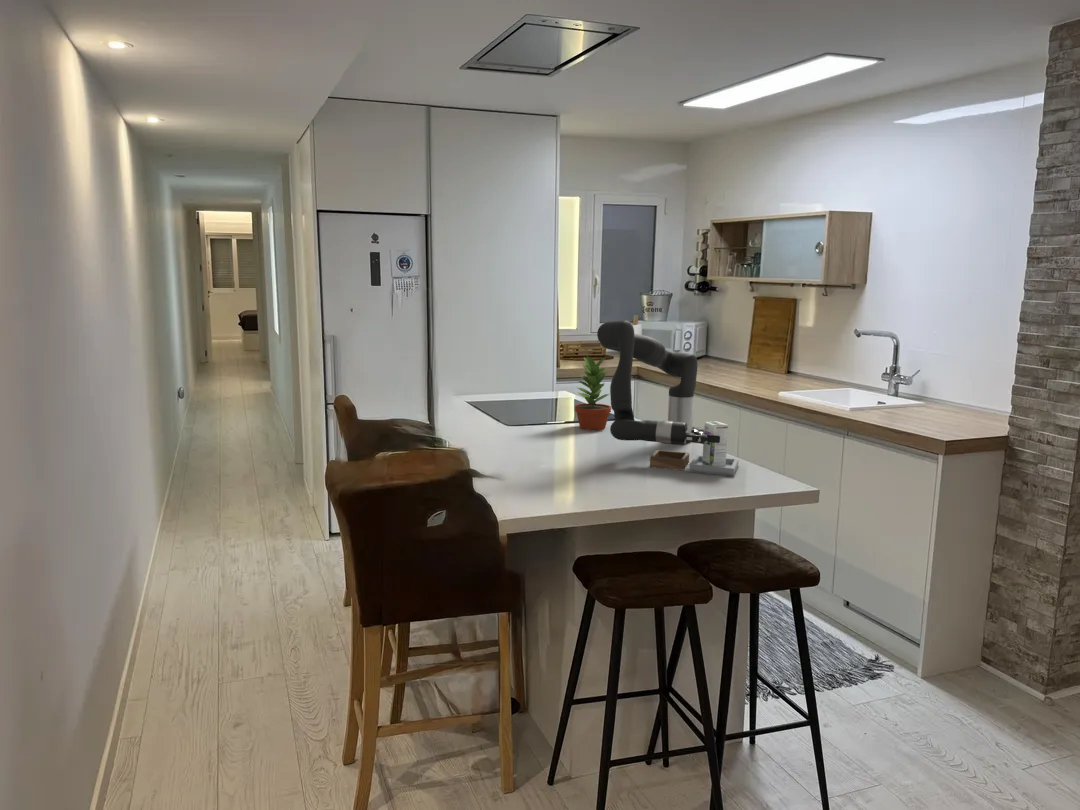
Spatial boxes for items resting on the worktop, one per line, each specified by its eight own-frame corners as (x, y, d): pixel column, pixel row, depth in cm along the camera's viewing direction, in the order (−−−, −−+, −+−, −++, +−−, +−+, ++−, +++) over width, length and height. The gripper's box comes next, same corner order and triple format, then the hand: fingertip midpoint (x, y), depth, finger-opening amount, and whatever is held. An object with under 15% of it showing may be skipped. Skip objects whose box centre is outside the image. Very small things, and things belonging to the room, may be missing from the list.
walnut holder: (656, 459, 276) (656, 449, 275) (688, 462, 272) (689, 452, 272) (649, 467, 266) (650, 456, 265) (683, 470, 262) (684, 459, 261)
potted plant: (616, 426, 332) (618, 353, 327) (601, 433, 319) (604, 356, 313) (583, 422, 339) (585, 351, 333) (567, 429, 325) (569, 354, 320)
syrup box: (701, 465, 266) (703, 421, 263) (716, 463, 268) (719, 420, 265) (710, 469, 261) (712, 425, 258) (726, 468, 263) (729, 424, 260)
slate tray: (695, 462, 273) (696, 455, 273) (738, 466, 269) (738, 458, 268) (689, 472, 260) (689, 464, 260) (733, 476, 256) (734, 468, 255)
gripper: (668, 425, 260) (719, 429, 255) (675, 417, 273) (724, 421, 268) (667, 448, 261) (718, 452, 256) (674, 439, 274) (723, 443, 269)
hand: (721, 436), depth 262 cm, fingers open, 8 cm apart
